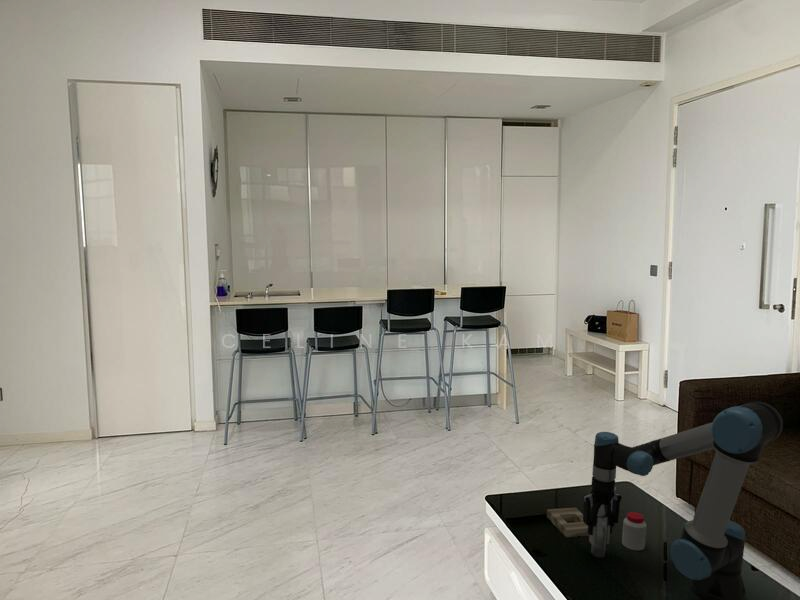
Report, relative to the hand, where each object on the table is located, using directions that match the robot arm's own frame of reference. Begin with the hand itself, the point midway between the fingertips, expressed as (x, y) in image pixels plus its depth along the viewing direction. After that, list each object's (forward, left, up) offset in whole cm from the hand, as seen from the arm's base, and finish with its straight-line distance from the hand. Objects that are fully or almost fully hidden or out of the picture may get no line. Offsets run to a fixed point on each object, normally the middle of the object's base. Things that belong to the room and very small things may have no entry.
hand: (598, 542), depth 205 cm
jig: (+20, 0, -4) cm, 20 cm away
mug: (+29, -19, -4) cm, 35 cm away
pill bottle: (+4, -16, -4) cm, 17 cm away
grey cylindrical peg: (0, 0, -4) cm, 4 cm away
